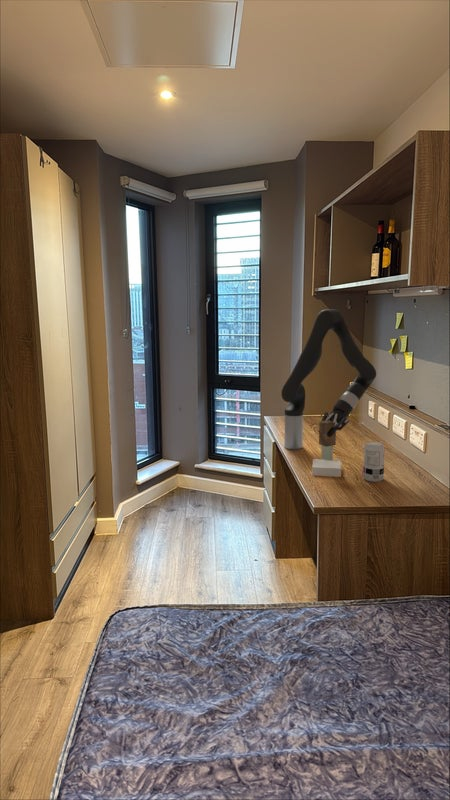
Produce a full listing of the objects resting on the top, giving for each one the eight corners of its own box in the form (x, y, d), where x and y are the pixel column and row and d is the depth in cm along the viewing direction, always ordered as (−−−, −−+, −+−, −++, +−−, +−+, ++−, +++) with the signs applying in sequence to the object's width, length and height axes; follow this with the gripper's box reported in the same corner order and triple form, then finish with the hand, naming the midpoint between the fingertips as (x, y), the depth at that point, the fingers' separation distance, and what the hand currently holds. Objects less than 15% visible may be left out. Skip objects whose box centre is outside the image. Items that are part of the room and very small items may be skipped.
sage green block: (321, 460, 235) (321, 440, 233) (332, 461, 234) (332, 440, 232) (321, 464, 230) (321, 442, 228) (332, 464, 229) (332, 443, 227)
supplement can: (358, 477, 211) (360, 442, 208) (375, 474, 214) (376, 440, 211) (370, 483, 204) (372, 447, 201) (387, 480, 206) (389, 445, 204)
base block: (313, 467, 226) (313, 459, 226) (340, 468, 224) (340, 460, 223) (312, 476, 215) (312, 467, 214) (340, 477, 212) (341, 468, 212)
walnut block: (319, 444, 218) (319, 421, 217) (328, 442, 221) (328, 420, 219) (326, 446, 214) (326, 423, 212) (335, 444, 216) (336, 422, 214)
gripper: (330, 396, 224) (308, 426, 220) (353, 401, 211) (330, 432, 208) (339, 406, 227) (318, 436, 223) (362, 412, 214) (339, 443, 211)
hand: (324, 434), depth 216 cm, fingers closed on walnut block, 5 cm apart
